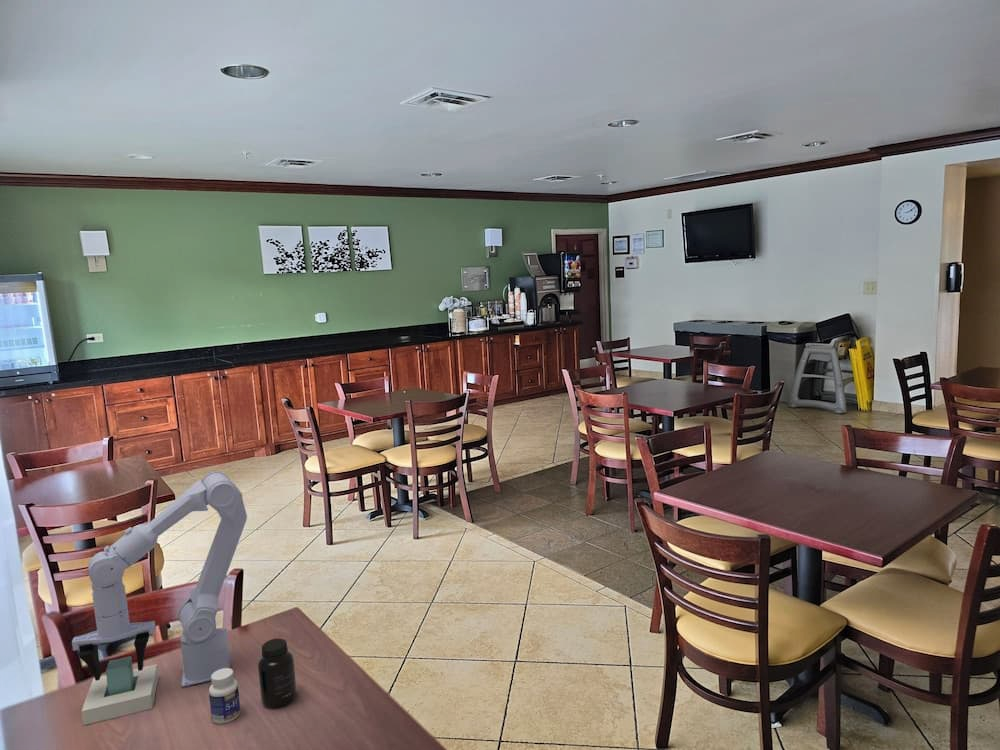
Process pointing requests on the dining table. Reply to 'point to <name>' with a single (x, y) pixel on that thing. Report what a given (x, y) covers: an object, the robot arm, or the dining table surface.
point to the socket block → (120, 697)
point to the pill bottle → (224, 696)
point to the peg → (120, 676)
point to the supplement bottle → (276, 674)
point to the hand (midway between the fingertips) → (119, 672)
